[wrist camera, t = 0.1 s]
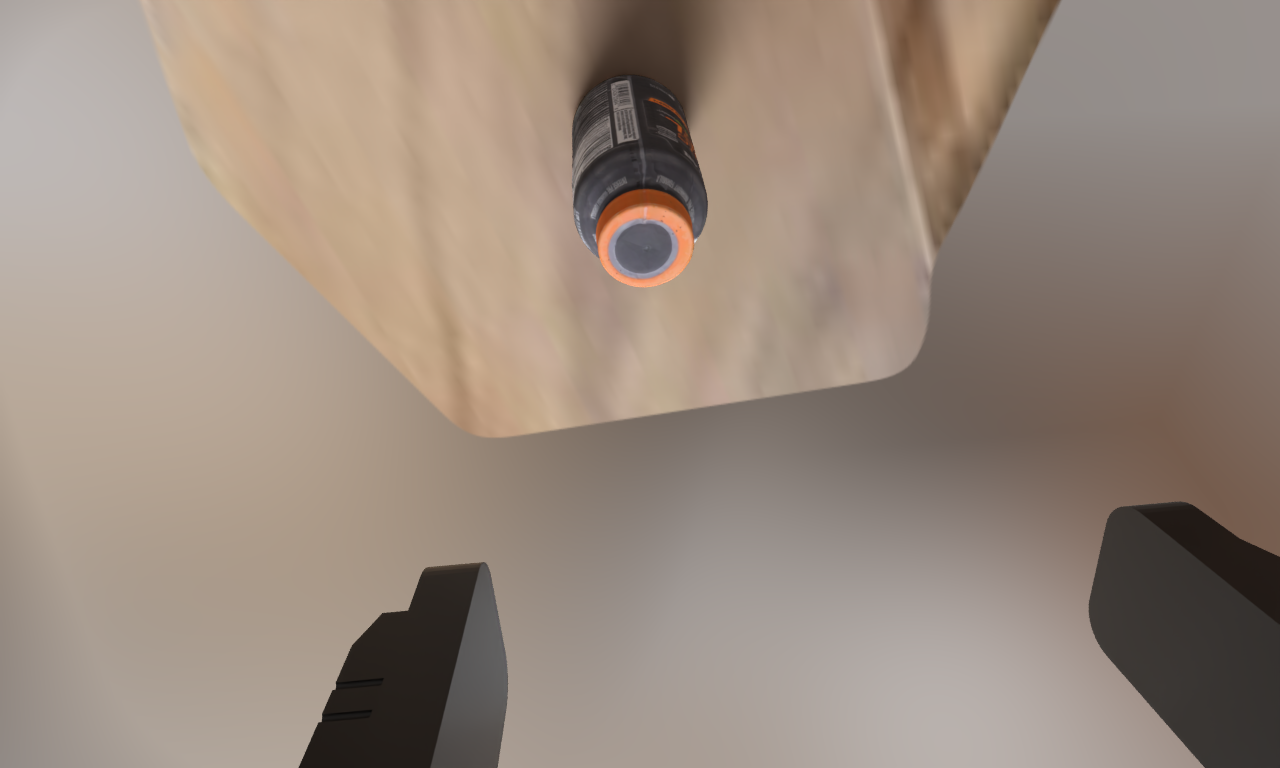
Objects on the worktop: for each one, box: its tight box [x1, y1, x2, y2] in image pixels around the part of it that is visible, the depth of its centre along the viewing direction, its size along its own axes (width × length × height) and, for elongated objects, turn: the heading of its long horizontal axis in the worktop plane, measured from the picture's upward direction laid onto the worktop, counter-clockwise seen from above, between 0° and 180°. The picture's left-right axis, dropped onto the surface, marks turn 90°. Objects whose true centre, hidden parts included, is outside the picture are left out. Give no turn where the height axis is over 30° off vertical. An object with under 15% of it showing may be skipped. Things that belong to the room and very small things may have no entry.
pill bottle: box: [572, 75, 708, 287], centre depth 33 cm, size 6×6×11 cm
